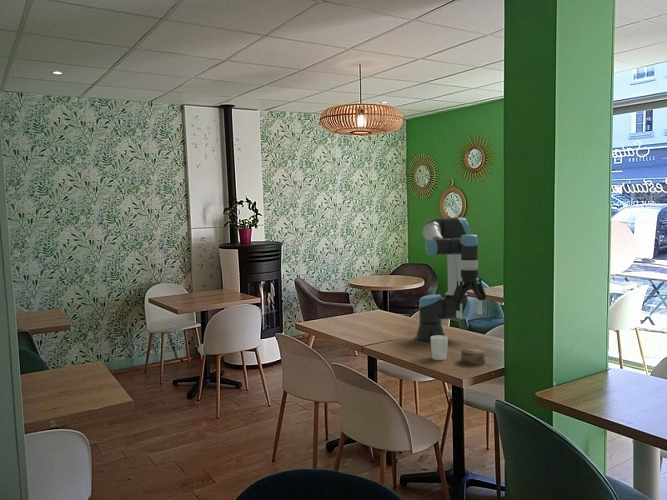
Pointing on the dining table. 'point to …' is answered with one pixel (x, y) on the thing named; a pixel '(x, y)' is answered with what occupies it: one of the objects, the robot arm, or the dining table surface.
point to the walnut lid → (472, 356)
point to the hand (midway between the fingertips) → (469, 316)
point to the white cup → (439, 347)
